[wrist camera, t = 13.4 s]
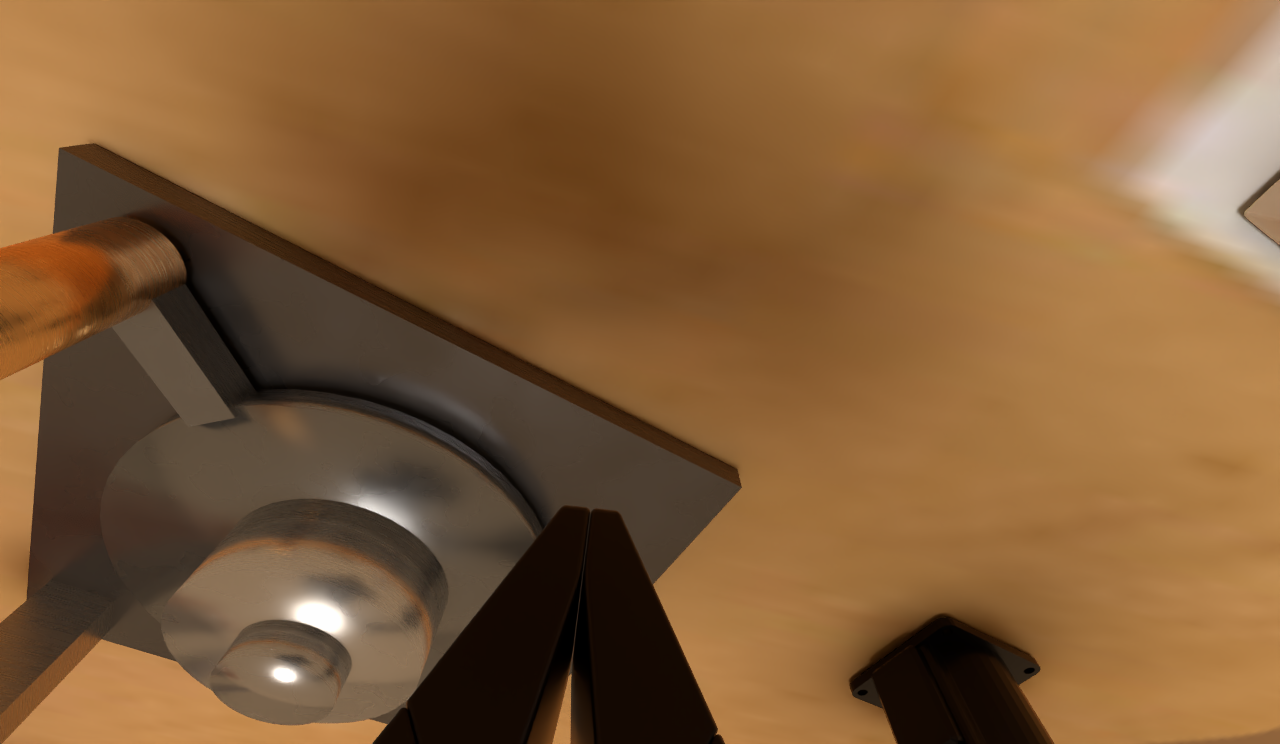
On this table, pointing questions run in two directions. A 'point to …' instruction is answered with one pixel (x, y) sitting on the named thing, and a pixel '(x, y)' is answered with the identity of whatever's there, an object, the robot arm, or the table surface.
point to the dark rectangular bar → (46, 646)
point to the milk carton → (1267, 212)
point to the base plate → (328, 362)
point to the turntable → (244, 430)
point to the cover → (309, 614)
